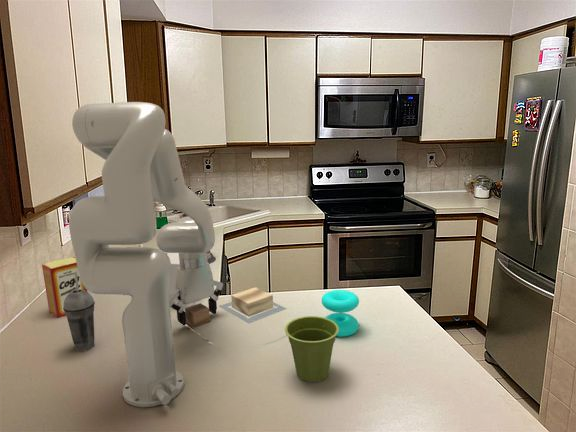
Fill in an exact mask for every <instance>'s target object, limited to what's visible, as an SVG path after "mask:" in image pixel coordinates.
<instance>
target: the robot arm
mask: <svg viewBox="0 0 576 432" xmlns="http://www.w3.org/2000/svg"><path fill="white" fill-rule="evenodd" d="M166 120H167V119H166V114H165V112H164V109H162V107H160V106H159V105H157V104H155V103H152V102H142V101H123V102H103V103H102V102H101V103H89V104H84V105H82V106H79V107H78V108H77V109H76V110H75V112H74V113H73V117H72V120H71V121H72V123H71V124H72V130H73V133H74V136H75V138H76V139H77V140H78V142H79V143H80V144H81V145H82V146H83V147H84V148H86V149H87V150H89V151H91V152H92V153H94V154H95V155H96V156H99V157H100V158H101V159H103V160H104V161H105V162H104V164H103V166H102V170H101V182H102V188H103V196H100V195H98V196H88V197H82V198H81V199H79V200H78V201H77V202H76V203H74V205H73V207H72V208H71V211H70V215H69V219H68V220H69V221H68V228H69V235H70V239H71V245H72V249H73V252H74V253H73V254H74V257H75V258H76V263H77V267H78V271H79V275H80V279H81V282H82V284H83V286H84V287H85V289H86V290H87V292H88V293H90V294H91V293H92V294H94V295H95V294H96V295H122V296H130V297H131V300H130V302H129V303H128V304H127V305H126V307H125V308H124V310H123V312H122V317H121V322H122V323H121V324H122V329H123V336H124V337H123V338H124V345H125V353H126V356H125V357H126V363H127V372H128V378H129V379H128V381H127V382H126V383H125V384H124V386H123V388H122V396H123V400H124V401H125V402H126V403H127V404H128V405H131V406H133V407H136V408H152V407H156V406H160V405H163V406H165V405H168V404H169V403H170V402H171V400H173V399H174V398H177V396H178V395H179V394H180V393H181V392H182V391H183V389H184V387H185V377H184V375H183V374H182V373H181V372H180V371H178V370H176V368H177V367H176V360H175V359H176V358H175V348H174V337H173V329H172V328H173V326H172V316H171V308H172V309H174V310H175V311H176V318H177V322H178V323H180V324H181V325H182V326H186V325H187V322H186V316H185V307H186V305H187V304H190V303H193V302H195V303H196V302H199V301H203V300H205V299H208V300H207V303H208V308H209V313H210V314H213V315H216V314H217V310H218V305H217V304H218V303H217V301H218V300H219V297H220V295H221V293H222V289H223V287H224V283H223V282H221V281H217V280H214V277H213V272H212V268H211V265H210V264H209V263H208V258H210V257H211V255H210V253H211V250H212V249H213V248H214V246H215V243H216V242H215V241H216V238H215V237H216V234H215V228H214V227H215V226H214V223H213V222H214V221H213V217H212V215H211V211H210V209H209V208H208V206H207V205H206V203H205V202H204V201H203V200H202V199H201V198H200V197H199V196H198V195H197V194H196V193H195V192H194V191H192V190H191V189H190V188H188V187H187V185H186V181H185V177H184V174H183V169H182V165H181V162H180V158H179V157H180V156H179V153H178V149H177V146H176V145H177V144H176V142H175V138H174V135H173V134H172V133H171V132H170V130H168V129H166ZM154 201H155V202H156V203H159V204H161V205H162V206H166V207H167V208H170V209H172V210H176V211H177V212H181V214H186V215H188V217H183V218H180V217H179V218H178V219H177V220H176V221H174V222H171V223H170V222H169V223H167V224H164V225H163V226H161V227H160V229H159V230H158V232H157V218H156V217H157V216H156V209H155V202H154ZM156 234H157V235H156ZM155 236H156V239H155V240H156V245H157V247H158V248H159V249H158V248H154V247H147V246H146V247H145V246H140V247H139V246H137V247H136V246H132V245H142V244H146V243H149V242H150V241H152V240H153V238H155ZM112 245H113V246H120V245H121V247H113V246H112ZM130 245H131V247H130ZM111 246H112V247H111ZM122 246H124V247H122ZM125 246H126V247H125ZM127 246H128V247H127ZM208 251H210V253H207V252H208ZM166 253H179V264H180V267H177V271H176V291H175V292H174V293H173V294H171V295H170V296H169V291H170V277H171V262H170V259H169V257H168V255H167V254H166ZM215 286H216V288H215ZM176 298H177V300H179V301H178V302H177V304H175V303H174V300H175V299H176Z"/></svg>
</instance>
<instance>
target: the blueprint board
mask: <svg viewBox="0 0 576 432" xmlns="http://www.w3.org/2000/svg"><path fill="white" fill-rule="evenodd" d="M219 307H220V308H222V309H223V310H225V311H227V312H228V313H230V314H232V315H233V316H235V317H237V318H239V319H240V320H243V322H245V323H248V324H250V323H254V322H256V321H259V320H261V319H265V318H267V317H269V316H271V315H274V314H277V313H279V312H282V311H284V310H287V308H286V307H285V306H282V305H280V304H278V303H276V302H274V301H273V308H270V309H268V310H265V311H262V312H260V313H257V314H254V315H252V316H247V315H245V314H244V313H242V312H240V311H238V310H236V309H235V308H233V307H232V301H229V302H227V303H224V304H221V305H219Z"/></svg>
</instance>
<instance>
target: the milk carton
mask: <svg viewBox="0 0 576 432" xmlns="http://www.w3.org/2000/svg"><path fill="white" fill-rule="evenodd" d="M166 253H167V252H166ZM167 255H168V257H169V259H170V262H171V277H170V291H169V296H170V295H171V294H173V293H174V292H175V291H176V271H177V267H180V264H179V253H167ZM178 301H179V300H177V298H176V299H175V300H174V303H175V304H177V302H178ZM195 304H196V302H193V303H190V304H187V305H186V307H185V308H187V307H190V306H193V305H195ZM185 308H184V309H185Z"/></svg>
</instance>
